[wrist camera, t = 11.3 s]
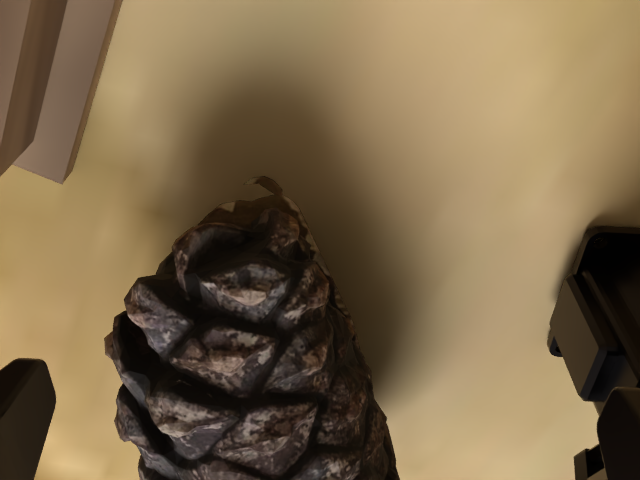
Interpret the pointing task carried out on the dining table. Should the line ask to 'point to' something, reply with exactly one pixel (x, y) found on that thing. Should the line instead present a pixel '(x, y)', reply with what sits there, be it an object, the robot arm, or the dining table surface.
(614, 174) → the dining table surface
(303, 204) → the dining table surface
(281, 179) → the dining table surface
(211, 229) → the pine cone
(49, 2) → the socket block
